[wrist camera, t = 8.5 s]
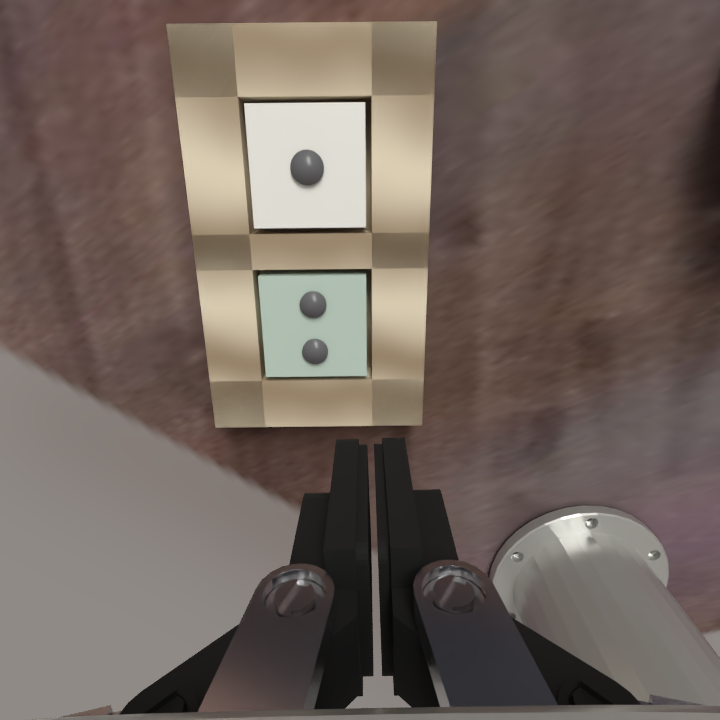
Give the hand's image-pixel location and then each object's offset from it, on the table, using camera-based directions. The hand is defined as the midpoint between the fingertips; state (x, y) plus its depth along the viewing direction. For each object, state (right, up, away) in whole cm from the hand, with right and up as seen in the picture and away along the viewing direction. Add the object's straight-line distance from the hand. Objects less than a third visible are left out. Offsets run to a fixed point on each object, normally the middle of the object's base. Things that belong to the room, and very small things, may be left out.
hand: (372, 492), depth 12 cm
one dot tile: (-3, +13, +14) cm, 19 cm away
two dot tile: (-3, +6, +16) cm, 17 cm away
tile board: (-3, +10, +16) cm, 19 cm away
